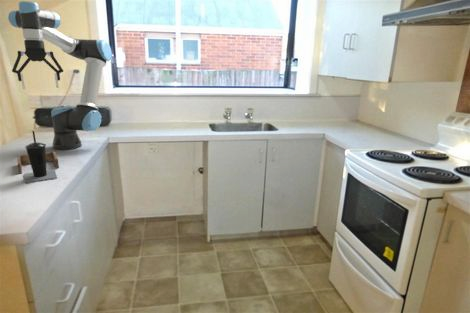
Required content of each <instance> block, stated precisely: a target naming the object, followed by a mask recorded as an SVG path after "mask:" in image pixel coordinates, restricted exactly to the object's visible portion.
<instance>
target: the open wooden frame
mask: <svg viewBox="0 0 470 313" xmlns="http://www.w3.org/2000/svg"><path fill="white" fill-rule="evenodd" d="M47 162H48V163H49V162H54V164H55V168H56V169H59V168H60V165H59V160H58V156H57V153H56V151H48V152H47V151H46V163H47ZM16 163H17V169H18V174H20V175H21V174H22V173H23V171H22V170H23V168H22V165H25V166H26V165H29V164H30V165H31V163H30V160H29V156H28V154H22V155H21V154H19V155H17V162H16Z"/></svg>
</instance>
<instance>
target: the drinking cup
mask: <svg viewBox="0 0 470 313" xmlns="http://www.w3.org/2000/svg"><path fill="white" fill-rule="evenodd" d="M32 138H33V142H30V143H29V144H27V145H26V146H24V147H25V148H24V149H26V152H27V155H28V156H29V160H30V163H31V164H30V166H31V170H32V173H33V174H34V177H43V176H46V175H47V170H48V169H47V162H46V152H47V150H46V147H47V146H46V145H47V144H46V143H42V142H38V141H36V133H35V130H32Z"/></svg>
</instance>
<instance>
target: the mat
mask: <svg viewBox="0 0 470 313" xmlns="http://www.w3.org/2000/svg"><path fill="white" fill-rule="evenodd" d="M46 170H47V175H46V176H43V177H34V174H33V172H28V173H24V176H23V178H24V184H25V183H26V184H31V183H30V182H32V183H36V182H35V181H39V182H42V181H41V180H45V181H48V180H47V179H51V180H54V179H53V178H57V179H58V175H57V174H56V170H55V169H54V168H53V169H46Z"/></svg>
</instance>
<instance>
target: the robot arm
mask: <svg viewBox="0 0 470 313" xmlns="http://www.w3.org/2000/svg"><path fill="white" fill-rule="evenodd" d="M7 19H8V22H9V24H10V25H11V26H12V27H14V28H18V29H22V30H21V31H22V37H23V40H24V41H23V42H24V48H25V50H24V51H21V50H17V57H16V60H15V63H14V64H13V67H12V70H11V72H12V73H13V74H17V75H16V76H17V80H18V82H21V84H22V89H23V90H26V87H25V82H24V81H25V80H24V74H23V73H22V72H23V70H24V69H25V68H26V67H27V65H28V64H29V63H30V62H44V63H45V64H46V65H47V66H48V67H49V68H51V70H53V72H55V73H54V80H55V87H56V89H59V87H60V86H59V81H61V75H60V74H61V73H63V72H64V69H63V68H62V66H61V65H60V63H59V62H58V60H57V59H56V57H55V55H54V52H53V51H46V49H45V42H44V40H45V41H47V42H49V43H51V44H52V45H55V46H56V47H58V48H59V49H61V51H62V52H64V53H66V54H67V55H69V56H71V57H74V58H76V59H79V60H82V61H84V62H85V63H86V64H85V72H84V77H83V82H82V83H83V84H82V88H81V94H80V100H79V103H77V104H76V107H74V106H63V107H57V108H53V109H51V113H50V114H51V122H52V127H53V134H54V135H53V140H52V149H54V150H56V151H57V150H58V151H67V150H75V149H77V148H78V149H79V148H81V147H82V141H81V139H80V137H79V135H78V132H77V131H83V132H84V131H85V132H95V131H96V130H98V129H99V127H100V125H101V123H102V115H101V112H99V108H98V107H97V102H98V96H99V91H100V86H101V85H100V83H101V78H102V73H103V68H104V67H106V65H107V62H109V61H111V60H112V57H113V53H112V52H113V51H112V48H111V45H110V44H109V42H107V40H104V39H99V38H97V39H81V38H80V39H79V38H74V37H72V36H70V35H69V36H68V35H66V34H64V33H62V32H60V31H59V30H57V29H58V28H59V27H61V26H60V25H61V23H62V22H61V17H60V15H59V14H58V13H57V12H56V11H52V10H46V9H40V7H39V4H38V3H37V2H34V1H28V0H27V1H24V0H22V1H19V2H18V9H17V10H11V11H9V13H8V18H7ZM24 55H25V56H26V58H27V59H25V61H24V62H23V63H22V64H21V66H20V67H19V69H18V70H17V68H18V66H19V63H20V61H21V58H22V57H24ZM47 55H48V57H49V58H51V60H52V61H53V63H54V64H55V66H56V67H57V68H56V67H55V66H54V65H53V64H52V63H51V62H49V61H48V59H47V58H46V56H47Z"/></svg>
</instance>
